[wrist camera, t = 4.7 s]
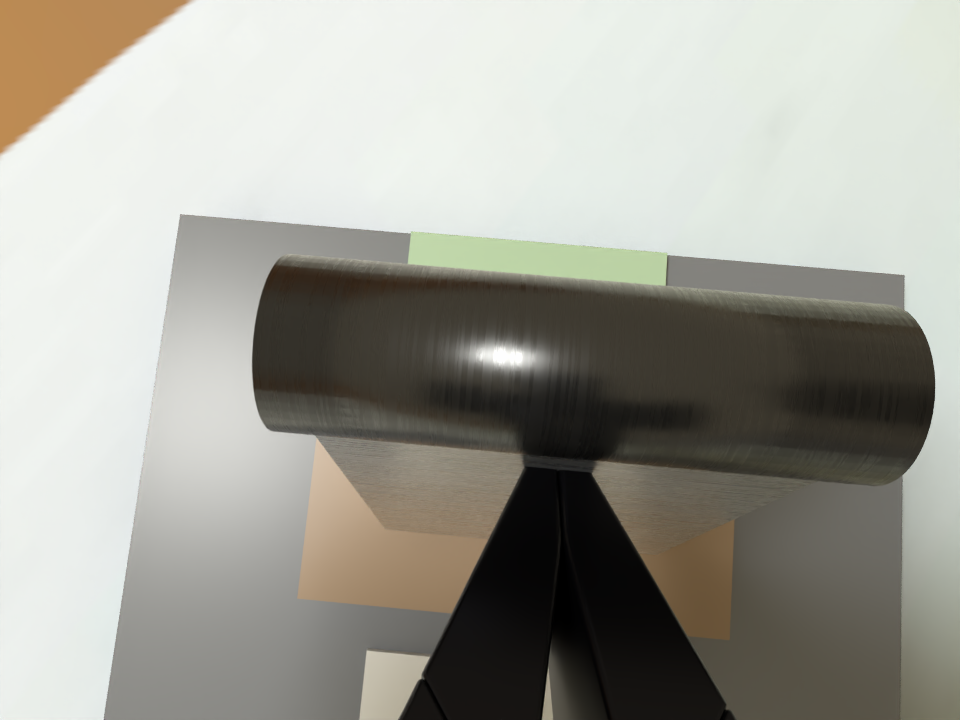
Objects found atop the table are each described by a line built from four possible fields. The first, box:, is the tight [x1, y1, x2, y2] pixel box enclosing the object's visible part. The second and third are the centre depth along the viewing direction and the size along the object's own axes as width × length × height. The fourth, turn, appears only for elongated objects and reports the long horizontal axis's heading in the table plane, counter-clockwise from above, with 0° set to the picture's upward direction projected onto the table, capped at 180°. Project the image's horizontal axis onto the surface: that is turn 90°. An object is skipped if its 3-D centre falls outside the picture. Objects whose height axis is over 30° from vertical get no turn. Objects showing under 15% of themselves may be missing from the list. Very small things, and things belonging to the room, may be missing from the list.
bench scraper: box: [252, 254, 935, 555], centre depth 11 cm, size 2×7×9 cm, turn 86°
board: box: [104, 214, 904, 720], centre depth 17 cm, size 18×20×3 cm
